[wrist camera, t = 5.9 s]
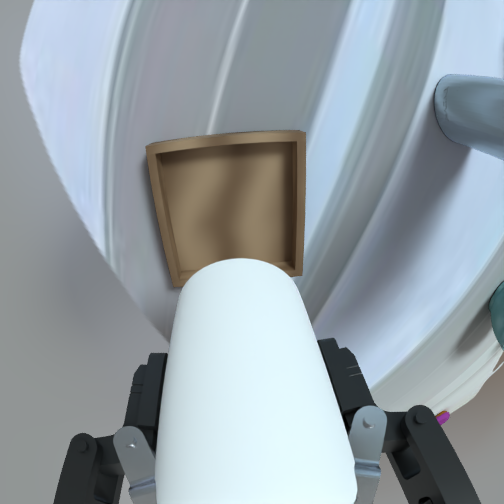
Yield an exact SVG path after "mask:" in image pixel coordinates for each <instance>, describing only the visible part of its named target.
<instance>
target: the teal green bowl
mask: <svg viewBox="0 0 504 504" xmlns="http://www.w3.org/2000/svg"><path fill="white" fill-rule="evenodd" d="M489 310H490V312H491V321H492V327H493V331H494V334H495V336H496V338H497V340H498V342H499V343H500V345H501V348H502V350H503V351H504V282H503V283H502V284H501V285H500V286H499V287H498V288H497V290H496V291H495V293H494V295H493V296H492V298H491V301H490V304H489Z"/></svg>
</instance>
